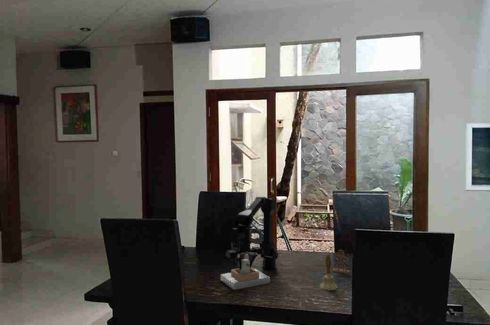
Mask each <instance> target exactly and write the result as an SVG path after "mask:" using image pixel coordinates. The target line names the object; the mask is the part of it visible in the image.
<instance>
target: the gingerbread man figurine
mask: <svg viewBox="0 0 490 325" xmlns="http://www.w3.org/2000/svg"><path fill="white" fill-rule="evenodd" d="M333 257H334V258H335V260H337V264H336V265H335V267H334V268H332V270H331V272H332V273H338V274H345V275H348V274H350V273H351V271H350V270H349V269H348V268H347V266H346V265H345V264H349V259H348V257H347V256H345V251H344V250H343V249H339V250H338V251H337V252H334V253H333ZM337 257H338V258H337ZM343 258H345V259H346V260H345V259H343ZM339 264H340V265H339ZM338 265H339V267H338ZM343 266H344V267H343ZM349 272H350V273H349Z"/></svg>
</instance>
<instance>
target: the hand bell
mask: <svg viewBox="0 0 490 325" xmlns="http://www.w3.org/2000/svg"><path fill="white" fill-rule="evenodd" d="M331 266H332V259H331V256H330V254H327V255H326V257H325V267H326V275H324V276H323V281H322V283H321V284H320V286H319V288H320V289H322V290H324V291H336V290H338V285H337V284H336V282H335V279H334V276H333V275H331Z"/></svg>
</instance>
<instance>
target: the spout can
mask: <svg viewBox="0 0 490 325" xmlns="http://www.w3.org/2000/svg"><path fill="white" fill-rule="evenodd" d="M248 273H250V260H249V258H248V259H247V258H242V264H241V270H240V275H243V274H248Z"/></svg>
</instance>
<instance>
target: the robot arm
mask: <svg viewBox="0 0 490 325" xmlns="http://www.w3.org/2000/svg"><path fill="white" fill-rule="evenodd" d="M276 206H277V201H276V200H275V199H274V198H268V197H265V196H256V197H255V199H254V201H253V202H251V204H250V205H249V206H248V207H247V209H246V210H243V211H241V212H239V213H238V214H237V216H236V217H235V221H234V223H233V225H232V226H233V227H232V228H231V231H230V232H229V233H228V236H227V237H228V240H229V242H230V247H231V249H230V250H227V251H225V256H226V258H229V259H231V260H233V259H235V261H236V264H237V266H238V269H239V270H241V264H242V259H243V258H242V257H241V255H243V256H244V255H247V256H248V259H249V260H250V268H252V266H253V264H254V261H255V260H256V258H257V257H258V255H260V258H262V267H261V268H262V269H263V270H265V271H272V270H277V269H278V267H277V266H276V262H277V261H276V260H277V259H278V258H279V252H278V251H277V250H276V244H275V242H274V241H273V214H274V212H275V211H276V208H277V207H276ZM258 211H261V212H262V214H263V228H262V229H263V232H262V234H263V235H262V237H263V238H262V242H261V243H259V246H252V247H251V244H252V240H251V229H252V228H253V227H252V226H251V225H252V223H253V222H254V216H256V214H257V213H258Z"/></svg>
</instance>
